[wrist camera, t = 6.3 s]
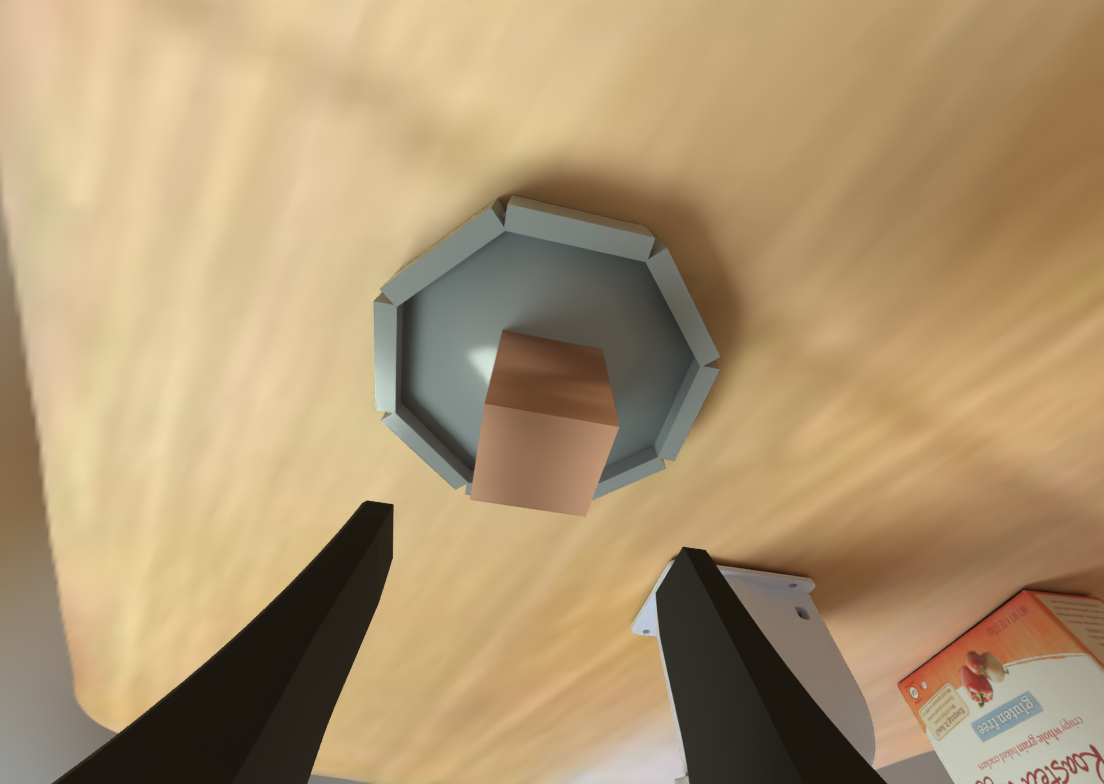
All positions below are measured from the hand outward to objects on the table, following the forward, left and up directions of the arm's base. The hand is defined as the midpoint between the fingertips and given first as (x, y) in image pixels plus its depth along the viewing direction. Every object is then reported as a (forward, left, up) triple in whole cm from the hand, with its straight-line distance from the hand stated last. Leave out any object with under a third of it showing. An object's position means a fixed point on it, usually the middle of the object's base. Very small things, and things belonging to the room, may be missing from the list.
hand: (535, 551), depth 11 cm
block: (0, 0, -8) cm, 8 cm away
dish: (0, 0, -9) cm, 9 cm away
